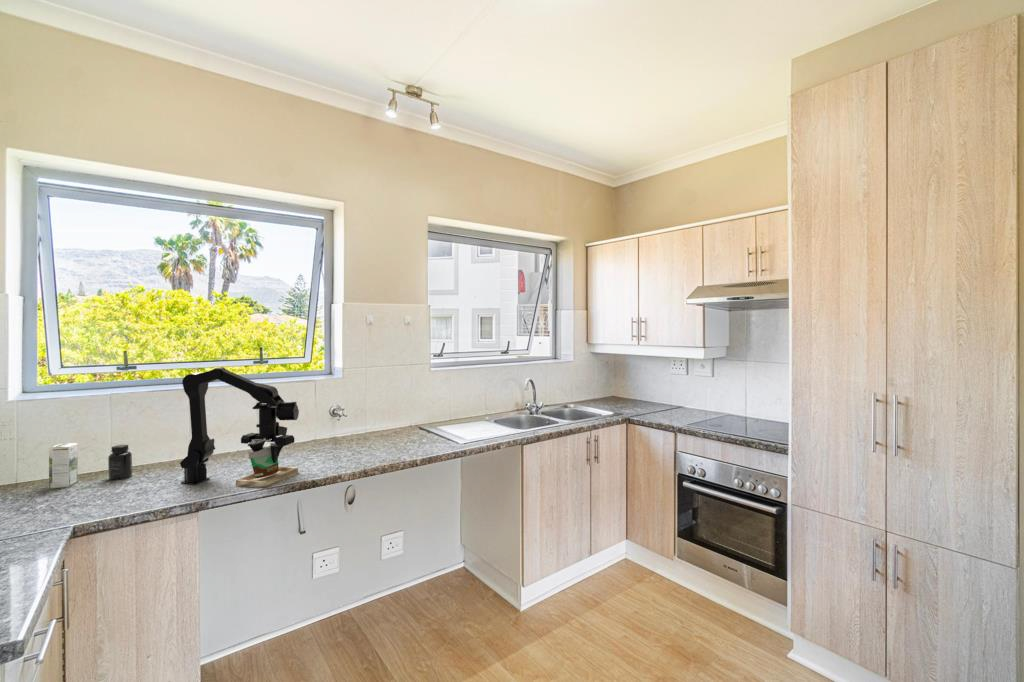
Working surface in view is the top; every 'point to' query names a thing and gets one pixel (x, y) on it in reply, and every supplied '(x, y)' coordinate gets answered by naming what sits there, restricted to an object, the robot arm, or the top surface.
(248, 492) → the top surface
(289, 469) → the wooden tray
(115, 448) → the supplement bottle
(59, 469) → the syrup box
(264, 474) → the food container
